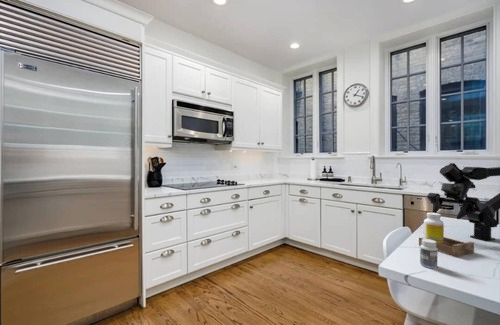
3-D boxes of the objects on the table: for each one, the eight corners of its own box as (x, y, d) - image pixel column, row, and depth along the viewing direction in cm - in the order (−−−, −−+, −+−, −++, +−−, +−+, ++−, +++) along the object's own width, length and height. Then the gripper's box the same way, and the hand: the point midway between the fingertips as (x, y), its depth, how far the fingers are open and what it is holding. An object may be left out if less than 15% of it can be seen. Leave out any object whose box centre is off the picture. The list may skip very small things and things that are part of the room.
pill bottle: (416, 263, 87) (416, 238, 87) (429, 262, 88) (429, 238, 88) (427, 269, 83) (427, 243, 82) (441, 268, 83) (441, 242, 83)
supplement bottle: (447, 248, 101) (447, 215, 101) (428, 246, 103) (428, 215, 103) (438, 242, 108) (438, 212, 108) (420, 241, 109) (420, 211, 109)
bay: (435, 241, 110) (435, 232, 110) (473, 253, 96) (474, 242, 96) (417, 244, 106) (417, 235, 106) (454, 256, 93) (454, 245, 93)
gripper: (429, 175, 119) (414, 200, 114) (479, 178, 102) (463, 207, 98) (439, 191, 122) (424, 216, 118) (488, 196, 106) (474, 226, 101)
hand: (444, 216), depth 108 cm, fingers open, 9 cm apart
